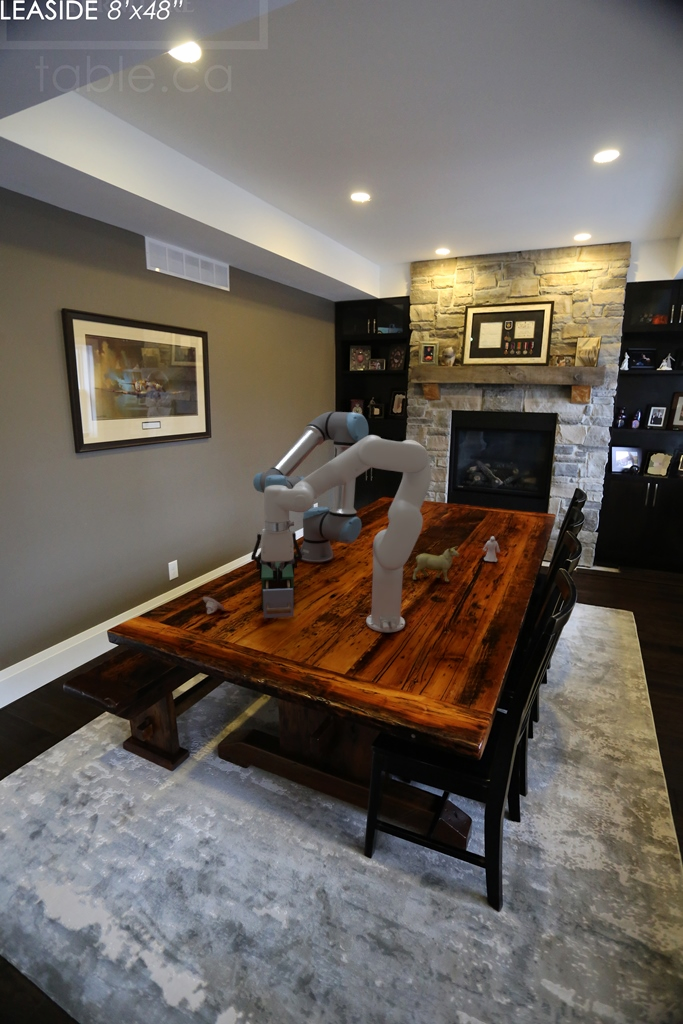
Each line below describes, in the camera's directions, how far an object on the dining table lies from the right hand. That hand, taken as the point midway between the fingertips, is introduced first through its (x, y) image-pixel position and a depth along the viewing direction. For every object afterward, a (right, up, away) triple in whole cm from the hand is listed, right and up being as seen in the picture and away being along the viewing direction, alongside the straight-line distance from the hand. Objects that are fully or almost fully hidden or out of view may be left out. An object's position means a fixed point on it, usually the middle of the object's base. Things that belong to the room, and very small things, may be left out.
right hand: (277, 581), depth 159 cm
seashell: (-23, -12, +10) cm, 28 cm away
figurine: (+87, 0, +66) cm, 110 cm away
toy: (+58, -6, +42) cm, 72 cm away
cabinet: (-3, -9, +22) cm, 24 cm away
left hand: (-3, -2, +24) cm, 24 cm away
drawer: (-1, -12, +9) cm, 15 cm away
